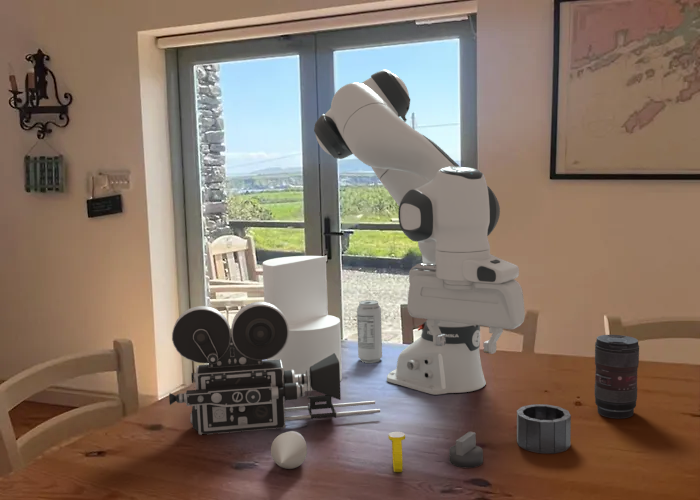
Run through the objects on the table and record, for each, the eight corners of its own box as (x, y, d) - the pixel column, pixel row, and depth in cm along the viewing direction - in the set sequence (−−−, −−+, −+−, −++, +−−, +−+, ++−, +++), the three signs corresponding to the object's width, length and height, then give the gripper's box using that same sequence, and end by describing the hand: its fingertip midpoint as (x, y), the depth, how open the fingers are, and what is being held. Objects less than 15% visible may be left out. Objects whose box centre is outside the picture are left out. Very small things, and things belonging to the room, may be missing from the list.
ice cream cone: (279, 490, 117) (291, 466, 132) (309, 465, 116) (318, 444, 131) (254, 460, 117) (269, 439, 132) (283, 435, 117) (295, 417, 132)
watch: (407, 476, 121) (406, 441, 120) (390, 477, 121) (389, 441, 120) (404, 461, 127) (404, 427, 126) (388, 461, 127) (387, 428, 126)
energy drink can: (387, 359, 189) (385, 301, 187) (371, 365, 184) (369, 305, 182) (369, 355, 193) (367, 298, 191) (353, 360, 188) (351, 302, 187)
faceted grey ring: (509, 446, 132) (509, 415, 131) (529, 430, 139) (529, 401, 138) (558, 457, 126) (558, 425, 126) (577, 440, 134) (577, 410, 133)
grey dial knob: (443, 463, 126) (443, 438, 125) (459, 452, 130) (458, 428, 130) (473, 471, 122) (473, 445, 122) (488, 459, 127) (488, 434, 126)
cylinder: (252, 382, 173) (246, 263, 170) (304, 364, 186) (299, 254, 183) (305, 396, 162) (301, 269, 159) (357, 376, 175) (353, 258, 171)
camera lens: (641, 421, 142) (642, 344, 140) (596, 419, 143) (597, 343, 142) (634, 406, 150) (635, 333, 148) (591, 405, 151) (592, 333, 149)
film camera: (171, 444, 137) (163, 317, 134) (176, 422, 149) (168, 304, 146) (384, 426, 143) (381, 304, 140) (372, 405, 155) (369, 293, 152)
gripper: (399, 265, 126) (401, 345, 128) (511, 273, 113) (512, 361, 115) (419, 260, 131) (420, 337, 133) (528, 267, 118) (529, 352, 120)
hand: (464, 348), depth 124 cm, fingers open, 8 cm apart
